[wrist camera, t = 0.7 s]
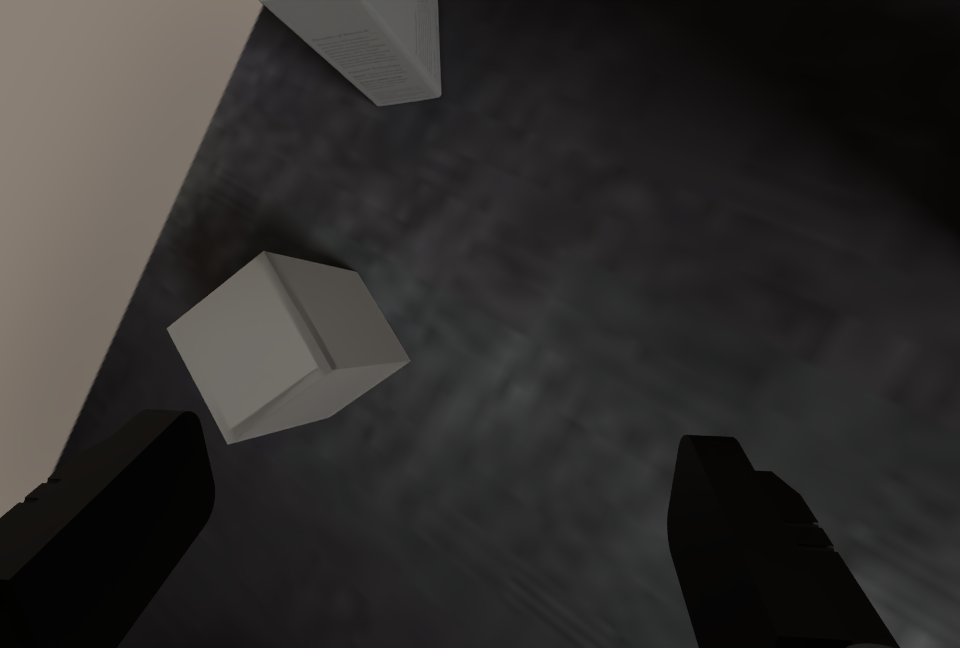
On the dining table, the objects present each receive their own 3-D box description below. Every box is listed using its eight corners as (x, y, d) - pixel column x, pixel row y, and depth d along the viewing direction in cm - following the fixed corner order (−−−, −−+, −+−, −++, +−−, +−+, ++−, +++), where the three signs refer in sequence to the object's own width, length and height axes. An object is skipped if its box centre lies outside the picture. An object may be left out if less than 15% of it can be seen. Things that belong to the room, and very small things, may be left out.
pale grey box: (357, 272, 35) (263, 250, 26) (410, 361, 34) (332, 369, 25) (279, 330, 36) (166, 328, 27) (329, 417, 35) (227, 444, 26)
